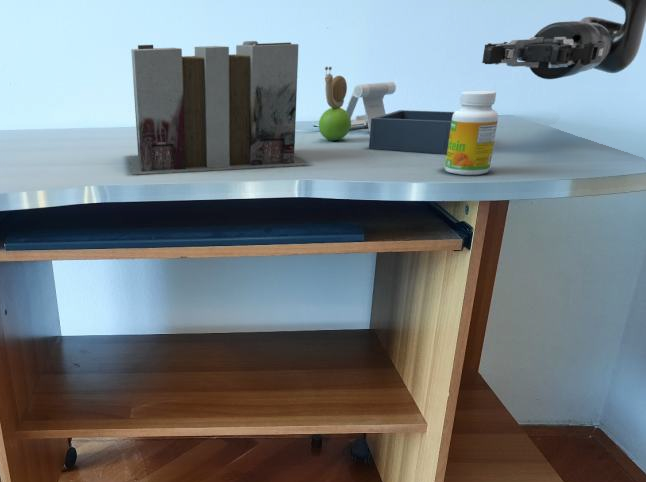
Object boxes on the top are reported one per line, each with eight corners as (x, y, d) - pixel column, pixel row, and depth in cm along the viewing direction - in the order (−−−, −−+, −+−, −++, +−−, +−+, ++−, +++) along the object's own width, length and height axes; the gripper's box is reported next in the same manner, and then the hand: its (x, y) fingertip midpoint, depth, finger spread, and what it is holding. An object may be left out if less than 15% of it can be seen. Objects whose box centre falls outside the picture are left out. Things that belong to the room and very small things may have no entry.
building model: (129, 156, 103) (121, 45, 96) (281, 148, 105) (284, 39, 98) (132, 174, 89) (123, 46, 82) (307, 165, 91) (313, 39, 84)
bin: (472, 142, 104) (477, 112, 102) (449, 154, 95) (454, 121, 93) (396, 138, 111) (399, 110, 109) (368, 148, 102) (371, 118, 100)
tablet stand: (365, 126, 126) (369, 80, 122) (396, 130, 120) (401, 82, 116) (332, 130, 122) (335, 83, 118) (363, 135, 116) (367, 85, 112)
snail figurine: (309, 142, 110) (312, 66, 105) (327, 137, 115) (331, 64, 109) (337, 144, 107) (342, 66, 102) (355, 139, 111) (361, 64, 106)
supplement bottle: (435, 169, 85) (446, 91, 81) (469, 166, 87) (481, 89, 82) (463, 177, 80) (475, 94, 76) (498, 173, 82) (512, 92, 78)
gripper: (520, 23, 98) (472, 25, 88) (627, 19, 88) (586, 22, 78) (511, 76, 101) (463, 84, 91) (612, 78, 91) (572, 88, 82)
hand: (520, 55), depth 85 cm, fingers open, 8 cm apart
